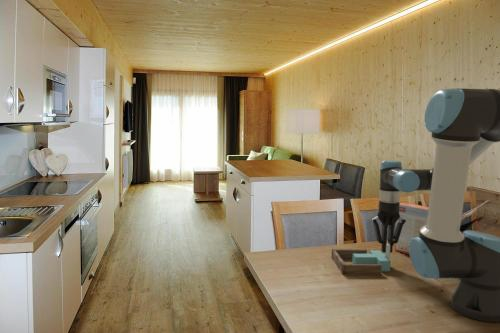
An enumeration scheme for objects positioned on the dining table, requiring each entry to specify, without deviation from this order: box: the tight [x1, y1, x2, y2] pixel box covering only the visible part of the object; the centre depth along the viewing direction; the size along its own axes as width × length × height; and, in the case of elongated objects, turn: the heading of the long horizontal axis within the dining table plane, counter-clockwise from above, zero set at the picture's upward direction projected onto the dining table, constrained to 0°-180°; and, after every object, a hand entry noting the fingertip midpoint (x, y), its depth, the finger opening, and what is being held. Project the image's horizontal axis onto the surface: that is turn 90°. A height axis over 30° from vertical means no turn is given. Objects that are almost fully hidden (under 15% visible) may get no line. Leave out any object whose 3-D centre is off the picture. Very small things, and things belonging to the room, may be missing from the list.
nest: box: [331, 248, 383, 276], centre depth 151 cm, size 18×14×4 cm
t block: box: [351, 249, 391, 272], centre depth 151 cm, size 12×12×4 cm
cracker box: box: [394, 202, 429, 256], centre depth 164 cm, size 14×6×21 cm, turn 36°
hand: (386, 260), depth 151 cm, fingers closed
